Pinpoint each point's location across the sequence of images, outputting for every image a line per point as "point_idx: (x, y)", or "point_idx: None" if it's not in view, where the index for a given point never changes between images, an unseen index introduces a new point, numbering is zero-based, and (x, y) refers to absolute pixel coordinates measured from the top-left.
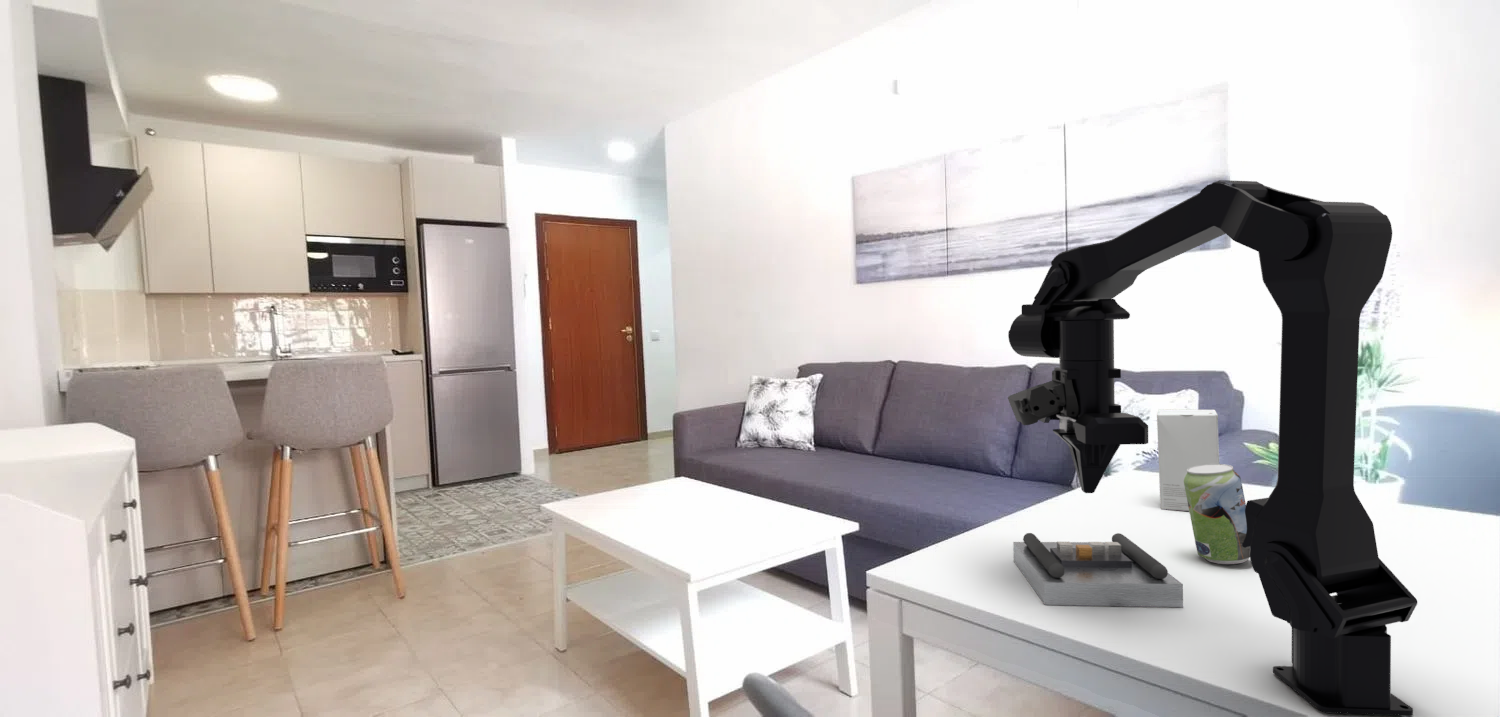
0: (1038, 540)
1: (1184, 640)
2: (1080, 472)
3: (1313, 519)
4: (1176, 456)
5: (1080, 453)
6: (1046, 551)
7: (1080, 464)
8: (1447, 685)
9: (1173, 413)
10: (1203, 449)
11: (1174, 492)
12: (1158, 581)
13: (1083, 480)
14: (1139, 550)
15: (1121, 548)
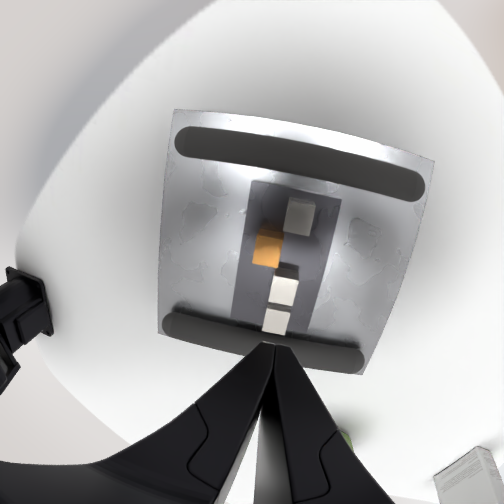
0: (361, 178)
1: (86, 251)
2: (238, 387)
3: None
4: (478, 502)
5: (115, 455)
6: (268, 153)
7: (194, 414)
8: (59, 371)
9: None
10: None
11: (471, 469)
12: (168, 309)
13: (234, 366)
14: (246, 348)
15: (311, 342)
